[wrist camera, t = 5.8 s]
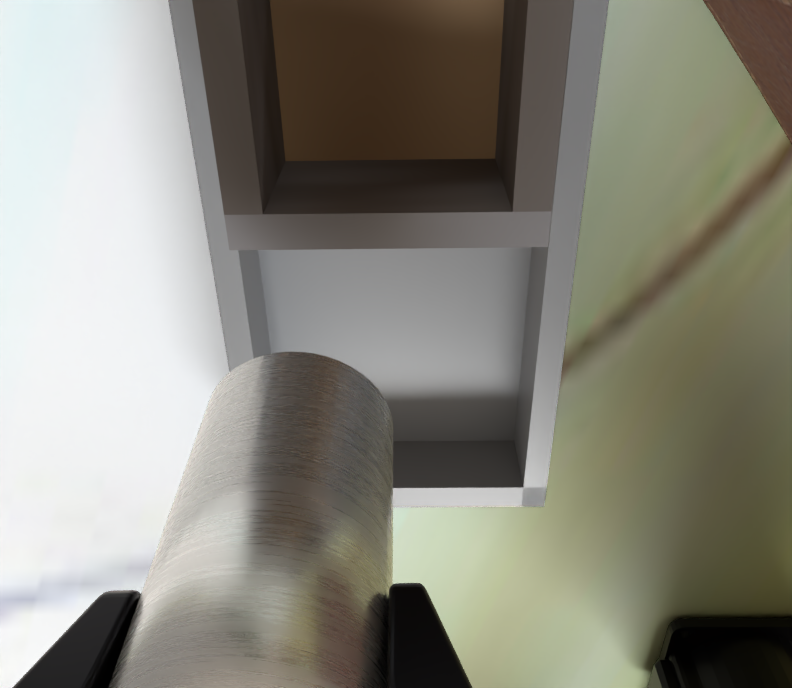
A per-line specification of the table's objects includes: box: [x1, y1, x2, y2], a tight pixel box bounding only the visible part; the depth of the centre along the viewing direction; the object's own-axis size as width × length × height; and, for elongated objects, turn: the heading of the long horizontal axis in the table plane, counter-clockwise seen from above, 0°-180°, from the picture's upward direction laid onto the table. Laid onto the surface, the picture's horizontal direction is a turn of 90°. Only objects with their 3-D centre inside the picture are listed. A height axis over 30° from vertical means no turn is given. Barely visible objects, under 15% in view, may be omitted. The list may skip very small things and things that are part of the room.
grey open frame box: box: [192, 0, 574, 250], centre depth 15 cm, size 6×7×6 cm
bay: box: [168, 0, 609, 507], centre depth 19 cm, size 9×18×3 cm, turn 1°
